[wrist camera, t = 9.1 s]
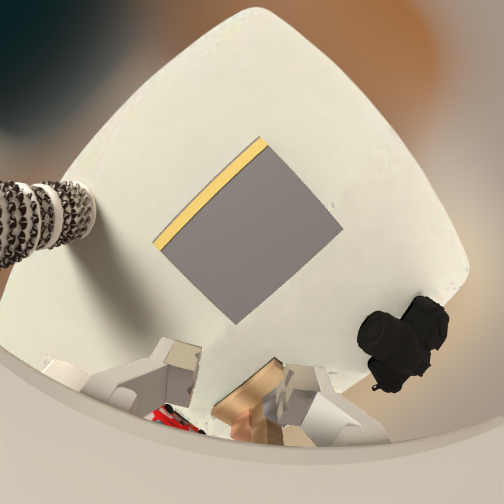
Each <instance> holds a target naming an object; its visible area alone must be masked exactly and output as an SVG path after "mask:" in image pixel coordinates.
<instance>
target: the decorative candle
mask: <svg viewBox="0 0 504 504" xmlns="http://www.w3.org/2000/svg"><path fill="white" fill-rule="evenodd" d="M96 212H97V209H96V203H95V198H94V196H93V194H92V192H91V190H90V189H89V188H88V187H87V186H86V185H84V184H83V183H79V182H72V181H70V182H69V183H68V184H67V182H66V181H63V182H62V184H61V182H60V181H59V182H57V181H55V182H50V181H47V182H42V183H41V184H34V185H32V186H28V185H27V184H24V183H20V182H17V183H15V184H14V182H13V181H9V182H5V183H3V182H2V181H0V270H1V267H3V268H5V269H6V268H8V267H9V265H10V264H11V265H13V264H15V262H20V261H21V260H22V259H23V258H27V257H30V255H31V254H32V253H33V252H34V251H35V250H36V251H38V250H42V249H46V248H48V249H50V250H51V249H53V248H54V246H55V247H59V246H60V245H61V244H63V245H66V244H68V243H70V242H74V241H76V240H79V239H82V238H84V237H85V236H86V235H88V234H89V233H90V232H91V230H92V228H93V225H94V223H95V219H96Z"/></svg>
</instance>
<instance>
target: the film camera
mask: <svg viewBox="0 0 504 504" xmlns="http://www.w3.org/2000/svg"><path fill="white" fill-rule="evenodd" d="M448 322H449V316H448V314H447V313H446V312H445V311H444V307H442V306H440V304H439V303H436V302H434V301H433V300H432V299H430V298H429V297H427V296H426V297H424V296H416V297H415V298H414V299H413V301H412V302H411V304H410V305H409V307H408V308H407V310H406V311H405V313H404V314H403V316H402V317H401V319H398V318H395V317H393V316H392V315H391V314H389V313H385V312H382V311H375V312H373V313H371V314H370V315H369V316H367V318H366V319H365V320H364V322H363V323H362V325H361V326H360V328H359V331H358V335H357V343H358V346H359V347H360V348H361V349H362V350H363V351H364V352H365V353H366V354H368V355H371V356H372V357H371V358H370V359H369V361H368V368H369V370H370V371H371V373H372V374H373V376H374V378H375V380H376V381H377V383H378V384H376V385H374V386H376V388H373V387H374V386H373V387H372V390H373V391H375V390H377V389H382V390H383V391H384V392H388V393H390V392H392V393H396V392H398V391H400V390H401V388H402V384H403V383H404V382H405V381H406V380H407V379H408V378H409V377H410V376H416V375H418V376H420V377H422V376H423V373H424V372H425V371H426V370H427V368H428V367H430V366H431V364H430V356H431V353H430V351H431V350H433V349H436V350H439V348H440V347H441V346H442V344H443V342H444V341H445V339H446V337H447V329H448Z"/></svg>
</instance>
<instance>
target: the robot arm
mask: <svg viewBox="0 0 504 504" xmlns="http://www.w3.org/2000/svg"><path fill="white" fill-rule="evenodd" d="M201 352H202V347H200V346H196V345H192V344H188V343H185V342H181V341H178V340H174V339H171V338H167V337H162V338H161V339H160V341H159V343H158V344H157V346H156V348H155V349H154V351H153V353H152V354H151V356H150V358H149V359H148V358H143V359H140V360H137V361H134V362H131V363H128V364H125V365H122V366H119V367H116V368H112V369H109V370H106V371H103V372H99V373H96V374H93V375H92V377H91V376H90V375H89V374H88V373H86V372H85V371H84V370H82V369H81V368H79V367H78V366H76V365H74V364H72V363H69V362H66V361H60V360H55V359H54V358H52V357H50V356H47V355H46V356H45V357H44V362H43V368H42V372H40V371H38V370H37V369H35V368H33V367H32V366H30V365H29V364H27V363H25V362H24V361H22V360H21V359H19V358H18V357H16V356H15V355H13V354H12V353H10V352H9V351H8V350H6V349H5V348H3V347H2V346H1V345H0V504H504V417H503V416H496V417H493V418H491V419H488V420H485V421H482V422H479V423H477V424H473V425H471V426H467V427H463V428H460V429H457V430H453V431H449V432H445V433H441V434H437V435H432V436H428V437H423V438H417V439H412V440H406V441H399V442H392V443H391V442H390V440H389V438H388V436H387V434H386V432H385V430H384V428H383V426H382V424H381V423H380V422H378V421H377V420H375V419H374V418H372V417H371V416H369V415H368V414H367V413H365V412H364V411H362V410H361V409H360V408H358V407H357V406H355V405H354V404H353V403H351V402H350V401H349V400H347V399H346V398H344V397H343V396H342V395H341V394H339V393H335V391H334V389H333V386H332V384H331V381H330V379H329V376H328V373H327V371H326V369H325V368H324V367H313V366H312V367H311V366H301V365H293V364H286V366H285V368H284V370H283V377H284V378H283V379H282V380H280V381H279V384H278V387H277V392H276V404H277V405H278V406H279V407H278V410H277V417H278V424H287V425H296V426H300V427H301V429H302V430H303V431H304V432H305V433H306V434H307V436H308V437H309V438H310V439H311V440H312V441H313V443H314V444H315V445H316V446H317V447H297V446H281V445H269V444H259V443H251V442H243V441H237V440H230V439H224V438H219V437H213V436H208V435H204V434H199V433H194V432H190V431H186V430H182V429H178V428H174V427H171V426H167V425H164V424H160V423H157V422H154V421H151V420H147V419H144V418H143V417H145V416H146V415H148V414H150V413H151V412H153V411H154V410H156V409H158V408H159V407H161V406H162V405H164V404H165V402H166V403H170V404H174V405H178V406H182V407H187V408H189V405H190V401H191V398H192V393H193V389H194V388H195V384H196V380H197V375H198V370H199V361H200V358H201ZM47 362H48V363H49V365H48V364H47Z"/></svg>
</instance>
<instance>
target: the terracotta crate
mask: <svg viewBox="0 0 504 504" xmlns="http://www.w3.org/2000/svg"><path fill="white" fill-rule="evenodd" d="M231 438H233V439H235V440H237V441H243V442H251V408H248V409H246V410H245V411H243V412H242V413H241V414H239V415H238V416H236V417H235V418H233V419H232V425H231Z"/></svg>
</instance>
